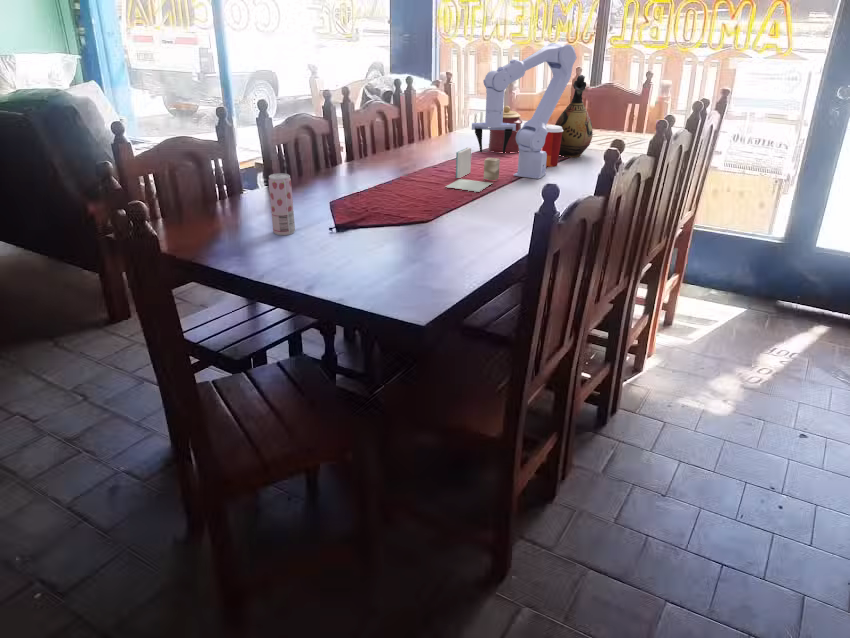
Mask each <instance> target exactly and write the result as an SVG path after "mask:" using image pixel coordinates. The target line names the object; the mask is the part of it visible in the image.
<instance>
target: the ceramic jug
mask: <svg viewBox="0 0 850 638" xmlns="http://www.w3.org/2000/svg"><path fill="white" fill-rule="evenodd" d="M585 78H586V76H585V75H582V74H580V75H578V76H577V78H576V80H574V82H573V89H574V93H573V97H572V99H571V101H570V103H569V104H568V105H567V106H566V107H565V109H564V110H563V111H562V112H561V114H560V115H559V117H558V118H557V120H556V121H555V123H554V125H556V126H561V127H562V129H563V132H562V138H561V144H560V151H559V155H561V156H564V157H568V158H567V159H570V158H571V159H577V158H580V157H581V156H582V154H583V153H584V152H585V151H586V149H588V148H589V147H590V145H591V143H592V140H593V133H594V132H593V125H592V120H591V118H590V115H589V112H588V110H587V108H586V107H585V105H584V102H583V94H584V93H583V92H584V91H586V87H587V83H586V81H585ZM561 156H560V157H561ZM564 157H563V158H564Z"/></svg>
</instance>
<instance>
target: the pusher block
mask: <svg viewBox="0 0 850 638" xmlns="http://www.w3.org/2000/svg"><path fill="white" fill-rule="evenodd" d="M500 160H501V159H500V158H496V157H486V158H485V159H484V161H483V162H484V164H483V180H484V179H488V180H496V179H498V178H499V179H500V163H501V161H500ZM499 179H498V180H499ZM496 181H497V180H496Z"/></svg>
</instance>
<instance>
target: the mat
mask: <svg viewBox="0 0 850 638" xmlns="http://www.w3.org/2000/svg"><path fill="white" fill-rule="evenodd" d="M491 184H493V185H494V183H493V182H490V181H478V180H471V179H463V178H461V179H456V180H455V181H453V182H451V183H450V184H448V185H445V186H444V188H445V187H447V188H455V189H462V190H468V191H467V192H469V191H474V192H473V193H476V192H480V191H481V192H482V190H483V189H485V188H486V187H488V186H489V185H491ZM491 186H492V185H491ZM447 188H446V189H447ZM488 188H489V187H488ZM486 189H487V188H486ZM486 189H485V190H486ZM462 190H461V191H462ZM483 191H484V190H483ZM481 192H480V193H481Z"/></svg>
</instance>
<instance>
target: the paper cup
mask: <svg viewBox="0 0 850 638" xmlns="http://www.w3.org/2000/svg"><path fill="white" fill-rule="evenodd" d="M546 129H547V132H548V133H547V135H546V138H545V144H544V146H543V147H542V148H541V151H545V152H546V154H547V161H546V167H547V166H548V167H547V168H553V167H554V168H555V167H558V163H559V157H560V156H559V151H560V144H561V138H562V132H563V129H562V127H561V126H556V125H555V124H554V125H552V124H551V125H549V124H548V125H547V124H546Z"/></svg>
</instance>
